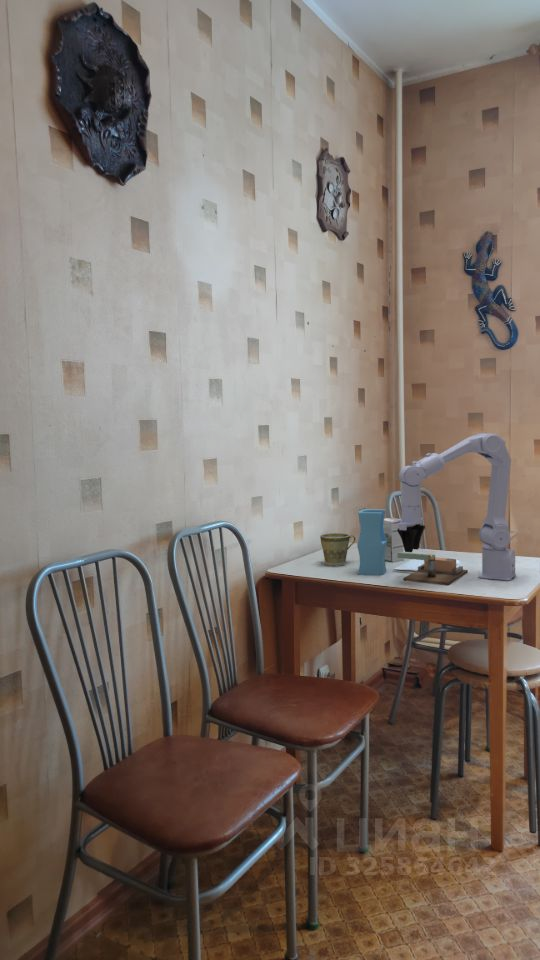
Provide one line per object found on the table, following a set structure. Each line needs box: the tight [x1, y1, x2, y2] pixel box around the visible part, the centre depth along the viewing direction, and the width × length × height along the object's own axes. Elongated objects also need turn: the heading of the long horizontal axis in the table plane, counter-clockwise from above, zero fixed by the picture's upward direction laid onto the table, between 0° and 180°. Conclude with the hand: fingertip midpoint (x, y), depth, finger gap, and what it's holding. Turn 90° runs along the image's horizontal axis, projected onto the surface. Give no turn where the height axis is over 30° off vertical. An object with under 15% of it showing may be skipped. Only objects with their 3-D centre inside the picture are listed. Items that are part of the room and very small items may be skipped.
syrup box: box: [383, 517, 404, 563], centre depth 247 cm, size 6×6×14 cm
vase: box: [356, 508, 387, 577], centre depth 228 cm, size 8×8×20 cm
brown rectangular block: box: [423, 556, 457, 572], centre depth 223 cm, size 9×4×4 cm, turn 58°
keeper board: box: [402, 561, 469, 586], centre depth 220 cm, size 14×19×6 cm
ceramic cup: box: [319, 532, 356, 567], centre depth 243 cm, size 13×10×10 cm
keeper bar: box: [397, 551, 436, 561], centre depth 219 cm, size 12×2×2 cm, turn 58°
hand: (411, 550), depth 214 cm, fingers open, 4 cm apart
